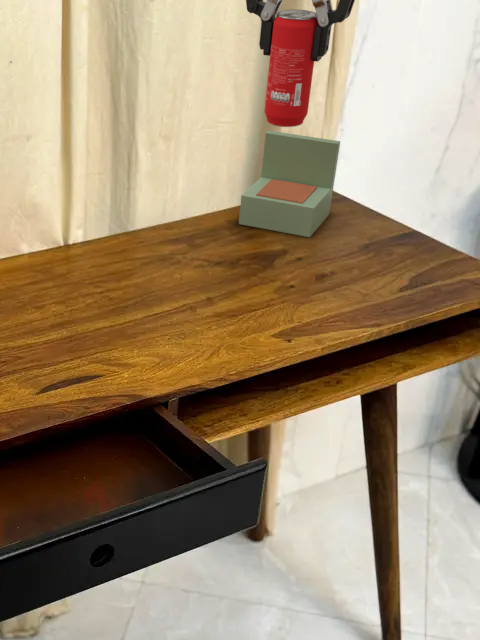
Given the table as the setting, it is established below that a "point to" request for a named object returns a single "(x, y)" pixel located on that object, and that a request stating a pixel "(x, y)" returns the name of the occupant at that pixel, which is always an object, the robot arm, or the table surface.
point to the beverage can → (290, 68)
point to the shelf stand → (292, 184)
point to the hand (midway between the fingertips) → (292, 56)
